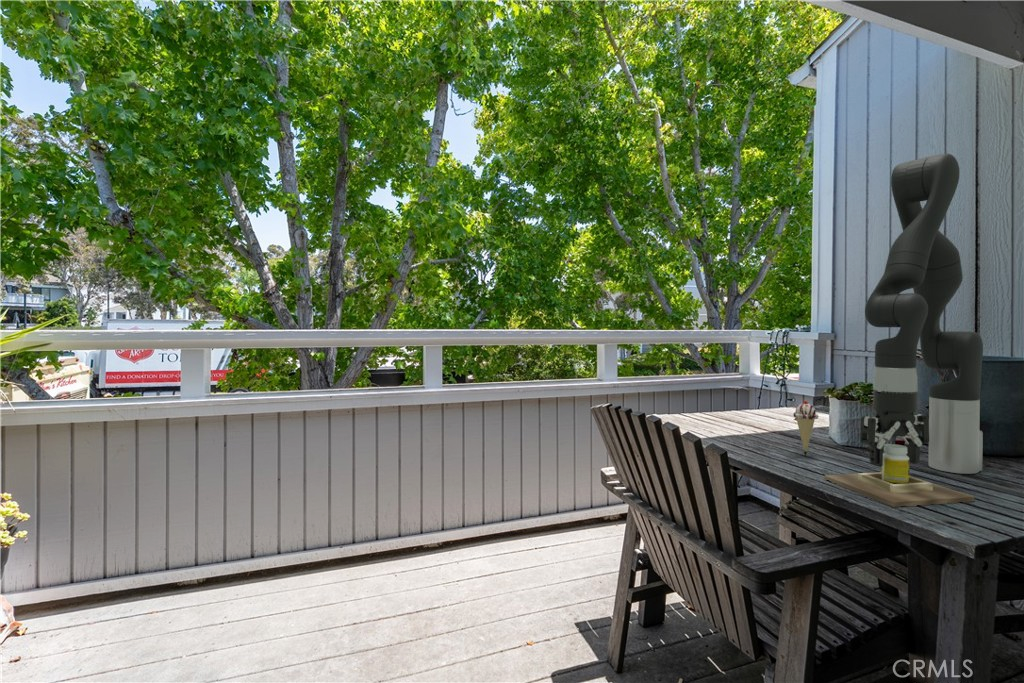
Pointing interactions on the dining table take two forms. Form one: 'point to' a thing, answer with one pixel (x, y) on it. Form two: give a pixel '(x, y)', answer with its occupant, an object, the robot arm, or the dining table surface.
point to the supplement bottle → (895, 464)
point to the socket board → (899, 490)
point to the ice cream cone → (805, 422)
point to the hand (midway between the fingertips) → (894, 464)
